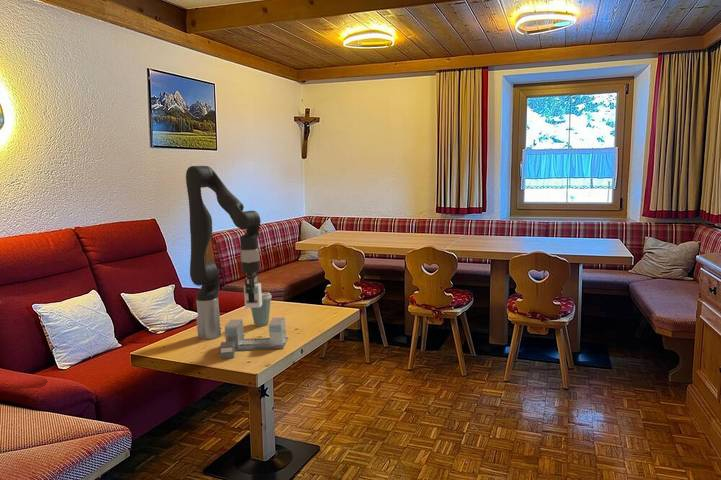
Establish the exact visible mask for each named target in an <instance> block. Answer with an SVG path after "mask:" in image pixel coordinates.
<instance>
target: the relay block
mask: <svg viewBox="0 0 721 480" xmlns="http://www.w3.org/2000/svg"><path fill="white" fill-rule="evenodd" d="M219 353H220V360H227V359H234V358H235V355H236V351H235V345H234V341H230V342H226V341H221V342H220V345H219Z"/></svg>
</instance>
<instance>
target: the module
mask: <svg viewBox="0 0 721 480" xmlns="http://www.w3.org/2000/svg"><path fill="white" fill-rule="evenodd" d="M249 290H251V288H249ZM243 293H244V307H245V308H246V309H251V308H256V307H261V305H262V293H263V292H262V283H261V282H258V283H257V284H255V288H254V302H249V298H248V293H246V286H245V285H244V286H243Z"/></svg>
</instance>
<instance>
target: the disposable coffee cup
mask: <svg viewBox="0 0 721 480" xmlns="http://www.w3.org/2000/svg"><path fill="white" fill-rule="evenodd" d="M272 298H273V297H272V294H271V293H270V292H262V305H261V307H256V308H250V309H251V314H252V319H253V323H254V326H256V327H262V326H263V327H264V326H267V325H268V326H269V323H270V314H271V304H272V303H271V301H272Z"/></svg>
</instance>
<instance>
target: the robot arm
mask: <svg viewBox="0 0 721 480" xmlns="http://www.w3.org/2000/svg"><path fill="white" fill-rule="evenodd" d="M185 184H186V189H187V191H186V192H187V197H188V207H189V229H190V230H189V234H190V262H189V263H190V264H189V277H190V280H191V281H192V283H193V284H194V285H195V286H198V287H199V286H201V287H200V289H199V290H198V291H197V292H196V294H195V299H196V310H197V317H196V331H197V339H201V340H212V339H216V338H219V337H222V328H221V320H220V319H221V317H220V307H219V306H220V305H219V292H220V276H219V275H220V274H219V269H218V267H217V265H216V264H215V263H214V262H212V261H206V254H207V249H208V247H209V244H210V241H211V240H212V235H213V219H212V215H211V213H210V212H209V209H208V208H207V206H206V205H205V203H204V201H203V198H202V188H209V189H210V190H212V191H213V192H214V193H215V195H216V200H217V203H218V205H219V206H220V207H221V208H222V209H223V210H224V211H225V212H226V213H227V214H228V215H229V217H230V219H231V220H232V222H233V224H234V225H235V227H236V228H238V229H239V230H246V231H245V233H244V234H242V235H241V236H240V239H239V245H240V264H241V265H240V267H241V272H242V273H246V276H245V279H244V283H245V284H244V286H246V293H248V298H249V302H254V288H255V284H257V283H259V273H258V272H260V271H261V261H260V260H261V258H260V251H259V239H258V238H259V234H260V228H261V217H260V214H259V212H258V211H256V210H246V211H244V208H245V207H244V204H243V202H241V201H240V199H238V197H237V196H235V195H234V194H233V193H232V192H231V191H230V189H228V187H227V186H226V185H225V184H224V182H223V181H222V180H221V178H220V177H219V175H218V174H217V172H216V171H214V170H213V168H212V167H210V166H208V165H193V166H192V165H190V166H189V167H188V168H187V170H186V171H185ZM249 288H251V290H249Z"/></svg>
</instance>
